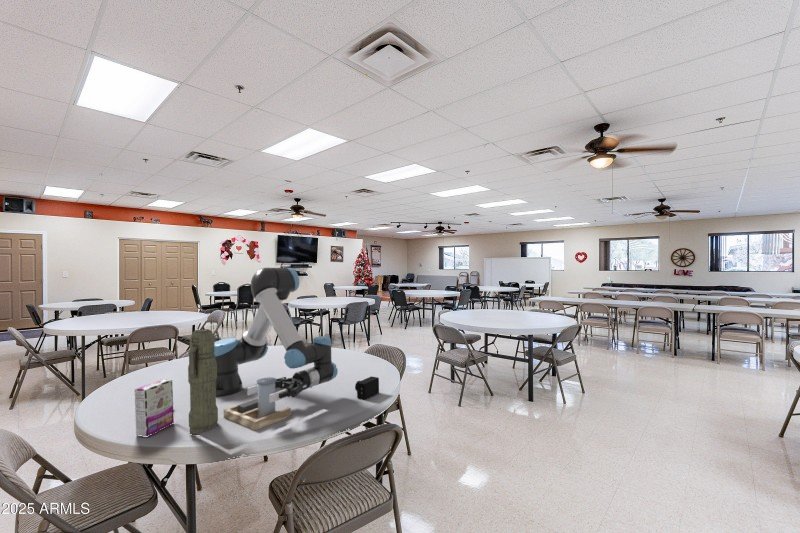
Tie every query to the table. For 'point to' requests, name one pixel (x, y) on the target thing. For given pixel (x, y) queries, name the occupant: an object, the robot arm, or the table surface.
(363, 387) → the digital camera
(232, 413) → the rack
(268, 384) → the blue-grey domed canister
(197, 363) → the thermos
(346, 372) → the table surface
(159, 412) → the candy bar box
